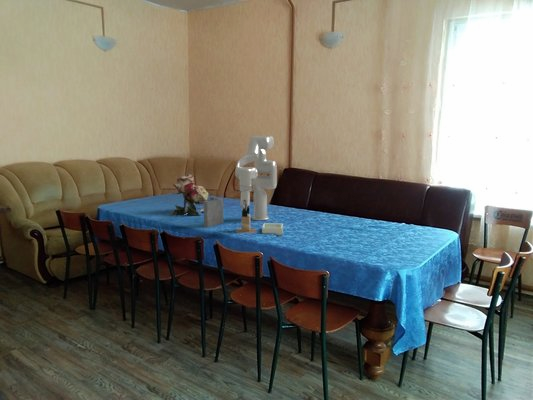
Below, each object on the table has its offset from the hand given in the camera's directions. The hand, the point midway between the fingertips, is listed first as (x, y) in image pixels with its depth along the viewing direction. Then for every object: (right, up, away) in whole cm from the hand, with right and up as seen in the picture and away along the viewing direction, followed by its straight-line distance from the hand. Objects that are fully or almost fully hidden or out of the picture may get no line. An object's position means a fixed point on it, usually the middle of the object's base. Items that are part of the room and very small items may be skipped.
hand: (245, 215), depth 274 cm
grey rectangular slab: (-23, -8, +23) cm, 34 cm away
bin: (+17, -11, +1) cm, 21 cm away
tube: (0, -10, +2) cm, 10 cm away
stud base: (0, -11, +2) cm, 12 cm away
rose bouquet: (-46, 0, +66) cm, 80 cm away
